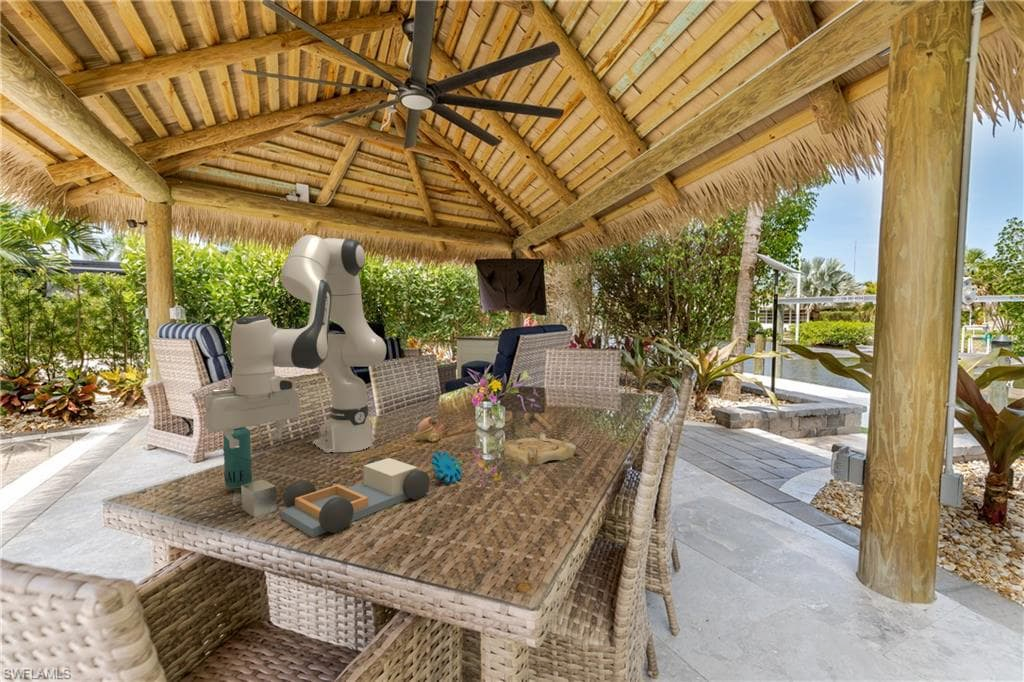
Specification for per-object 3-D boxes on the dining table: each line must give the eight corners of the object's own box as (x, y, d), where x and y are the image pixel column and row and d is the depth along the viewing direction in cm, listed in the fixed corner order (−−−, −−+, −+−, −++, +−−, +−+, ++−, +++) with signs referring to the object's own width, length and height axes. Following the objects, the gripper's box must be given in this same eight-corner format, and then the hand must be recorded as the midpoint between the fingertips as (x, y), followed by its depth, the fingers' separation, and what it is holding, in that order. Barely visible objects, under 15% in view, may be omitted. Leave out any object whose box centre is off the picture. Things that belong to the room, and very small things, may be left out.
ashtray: (584, 464, 145) (584, 448, 144) (509, 468, 141) (509, 452, 140) (563, 442, 168) (563, 428, 168) (498, 445, 164) (498, 431, 164)
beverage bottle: (249, 482, 128) (246, 411, 127) (256, 489, 124) (253, 415, 122) (221, 489, 124) (218, 415, 122) (228, 496, 119) (225, 419, 118)
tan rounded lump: (448, 442, 169) (436, 428, 162) (423, 455, 168) (411, 442, 162) (441, 424, 175) (430, 410, 169) (418, 437, 175) (406, 423, 168)
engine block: (242, 509, 112) (241, 485, 111) (263, 502, 116) (262, 479, 115) (254, 517, 107) (253, 492, 107) (276, 510, 111) (276, 486, 111)
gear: (443, 483, 124) (428, 451, 128) (431, 495, 126) (416, 463, 131) (471, 477, 132) (456, 447, 137) (460, 488, 135) (445, 458, 139)
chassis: (277, 516, 108) (276, 486, 107) (391, 477, 133) (391, 453, 132) (317, 540, 97) (316, 508, 96) (434, 492, 121) (433, 466, 121)
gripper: (208, 392, 99) (211, 456, 100) (302, 381, 115) (304, 436, 116) (198, 389, 103) (200, 450, 104) (290, 379, 119) (292, 432, 120)
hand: (256, 443), depth 110 cm, fingers open, 8 cm apart
